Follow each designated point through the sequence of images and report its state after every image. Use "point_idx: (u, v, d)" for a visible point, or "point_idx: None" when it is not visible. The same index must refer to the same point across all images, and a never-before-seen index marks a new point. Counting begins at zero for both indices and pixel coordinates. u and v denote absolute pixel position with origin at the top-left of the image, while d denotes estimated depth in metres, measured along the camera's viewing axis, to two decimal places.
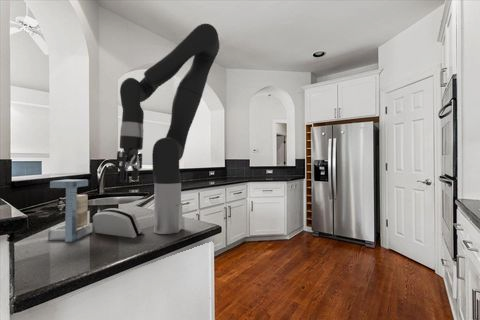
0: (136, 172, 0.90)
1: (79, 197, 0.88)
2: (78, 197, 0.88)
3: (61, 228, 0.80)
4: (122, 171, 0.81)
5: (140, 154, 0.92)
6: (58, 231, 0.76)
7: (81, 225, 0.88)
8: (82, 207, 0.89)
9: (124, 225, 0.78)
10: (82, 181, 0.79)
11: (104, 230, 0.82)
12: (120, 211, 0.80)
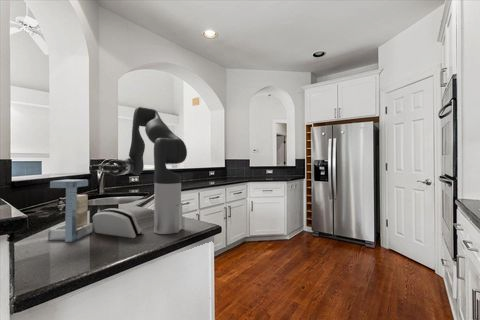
0: None
1: (79, 197, 0.88)
2: (78, 197, 0.88)
3: (61, 228, 0.80)
4: None
5: None
6: (58, 231, 0.76)
7: (81, 225, 0.88)
8: (83, 207, 0.89)
9: (123, 225, 0.78)
10: (82, 181, 0.79)
11: (104, 230, 0.82)
12: (120, 211, 0.80)
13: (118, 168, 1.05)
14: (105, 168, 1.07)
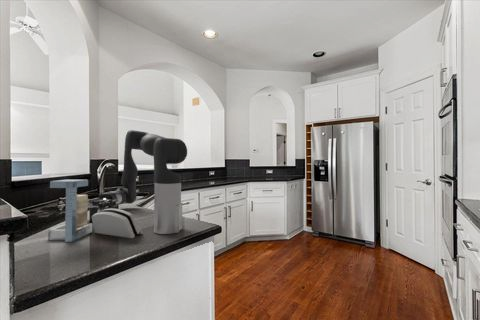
0: None
1: (79, 197, 0.88)
2: (78, 197, 0.88)
3: (61, 228, 0.80)
4: None
5: (115, 199, 1.06)
6: (58, 231, 0.76)
7: (81, 225, 0.88)
8: (83, 207, 0.89)
9: (122, 225, 0.77)
10: (82, 181, 0.79)
11: (103, 230, 0.81)
12: (118, 211, 0.79)
13: (107, 204, 1.00)
14: (94, 204, 1.02)
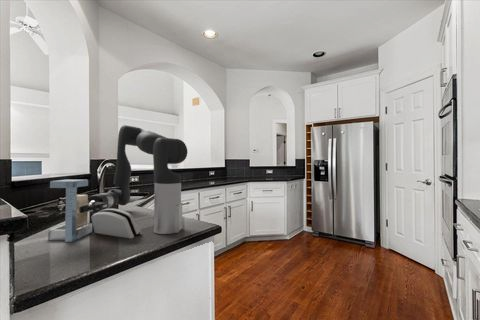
0: None
1: (79, 197, 0.88)
2: (78, 197, 0.88)
3: (61, 228, 0.80)
4: None
5: (104, 203, 0.97)
6: (58, 231, 0.76)
7: (81, 225, 0.88)
8: None
9: (121, 225, 0.77)
10: (82, 181, 0.79)
11: (102, 230, 0.81)
12: (118, 211, 0.79)
13: (88, 208, 0.91)
14: None
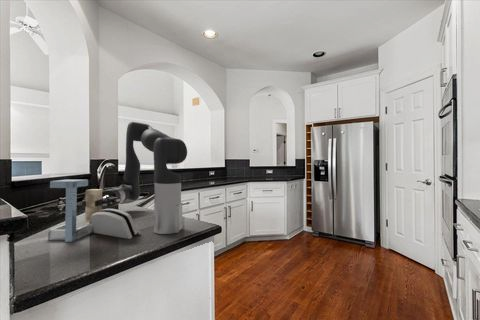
0: None
1: (94, 191, 0.91)
2: (93, 191, 0.91)
3: (61, 228, 0.80)
4: None
5: (117, 197, 1.00)
6: (58, 231, 0.76)
7: None
8: None
9: (120, 226, 0.77)
10: (82, 181, 0.79)
11: (101, 230, 0.81)
12: (116, 211, 0.79)
13: (103, 202, 0.93)
14: None
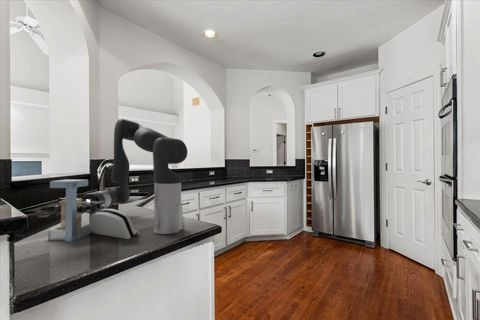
0: None
1: None
2: None
3: None
4: None
5: None
6: (58, 231, 0.76)
7: None
8: (76, 213, 0.79)
9: (118, 226, 0.77)
10: (82, 181, 0.79)
11: (100, 230, 0.81)
12: (115, 212, 0.79)
13: (88, 207, 0.81)
14: None
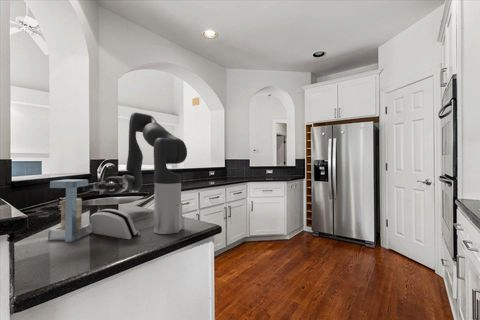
0: None
1: None
2: None
3: None
4: None
5: None
6: (58, 231, 0.76)
7: None
8: (76, 213, 0.79)
9: (119, 226, 0.76)
10: (82, 181, 0.79)
11: (101, 230, 0.81)
12: (115, 212, 0.79)
13: (114, 187, 0.96)
14: (100, 187, 0.98)
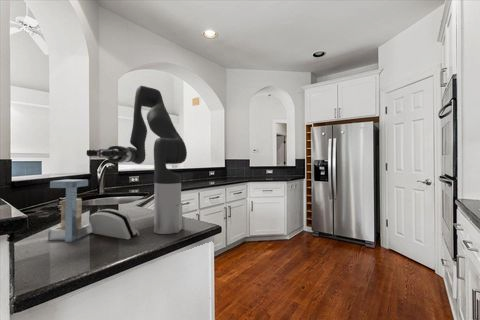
0: None
1: None
2: None
3: None
4: None
5: None
6: (58, 231, 0.76)
7: None
8: (76, 213, 0.79)
9: (118, 226, 0.76)
10: (82, 181, 0.79)
11: (100, 230, 0.81)
12: (115, 212, 0.78)
13: (118, 153, 0.96)
14: (104, 154, 0.98)
